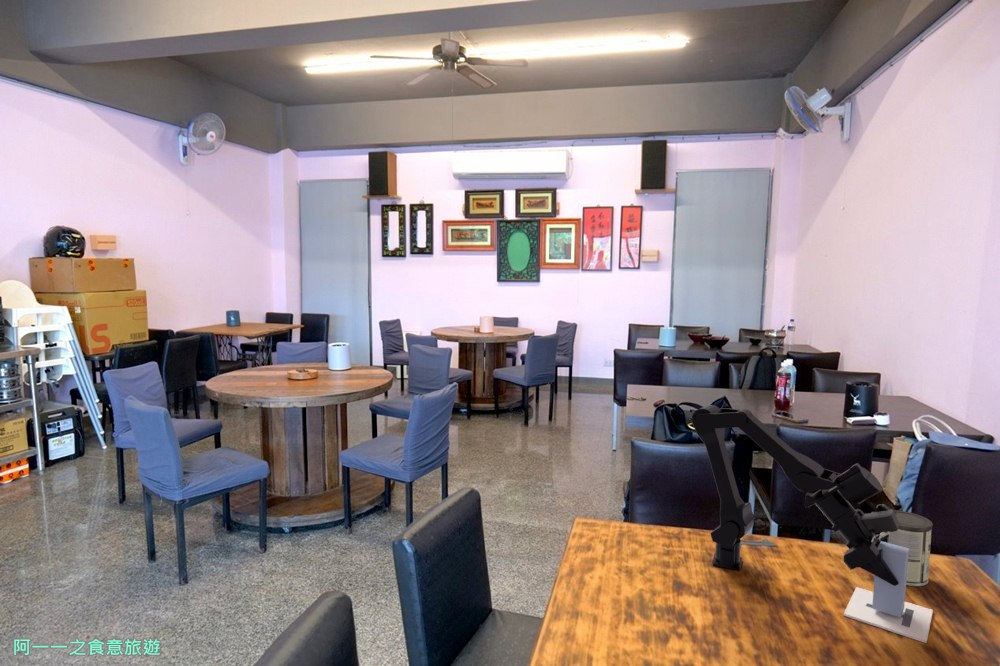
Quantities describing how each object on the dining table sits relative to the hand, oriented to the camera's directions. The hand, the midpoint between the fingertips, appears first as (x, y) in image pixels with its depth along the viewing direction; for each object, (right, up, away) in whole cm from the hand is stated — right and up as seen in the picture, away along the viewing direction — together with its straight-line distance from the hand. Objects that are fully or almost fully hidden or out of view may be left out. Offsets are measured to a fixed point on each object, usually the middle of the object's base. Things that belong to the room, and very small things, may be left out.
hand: (898, 579), depth 120 cm
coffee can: (+13, -7, +18) cm, 23 cm away
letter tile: (-1, -8, +2) cm, 8 cm away
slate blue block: (-1, -7, +1) cm, 7 cm away
